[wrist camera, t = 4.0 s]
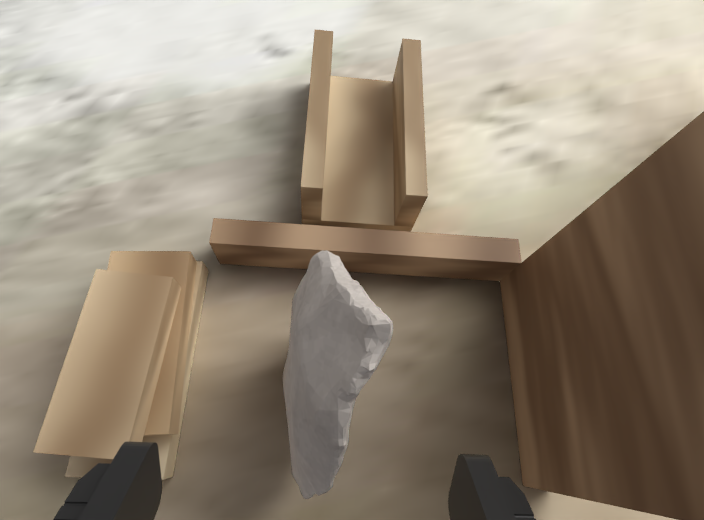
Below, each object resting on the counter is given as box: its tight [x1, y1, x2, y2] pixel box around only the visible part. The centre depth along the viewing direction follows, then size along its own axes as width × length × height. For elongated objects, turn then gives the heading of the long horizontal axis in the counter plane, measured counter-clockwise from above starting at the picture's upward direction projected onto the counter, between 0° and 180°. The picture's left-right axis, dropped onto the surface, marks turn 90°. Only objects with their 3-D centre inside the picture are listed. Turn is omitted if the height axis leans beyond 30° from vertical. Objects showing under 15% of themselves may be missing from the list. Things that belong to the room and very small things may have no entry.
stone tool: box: [283, 250, 393, 499], centre depth 17 cm, size 9×3×15 cm, turn 6°
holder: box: [301, 30, 428, 232], centre depth 28 cm, size 7×12×4 cm, turn 178°
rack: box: [209, 112, 704, 520], centre depth 15 cm, size 19×13×20 cm
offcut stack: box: [33, 251, 208, 479], centre depth 21 cm, size 5×11×4 cm, turn 178°
